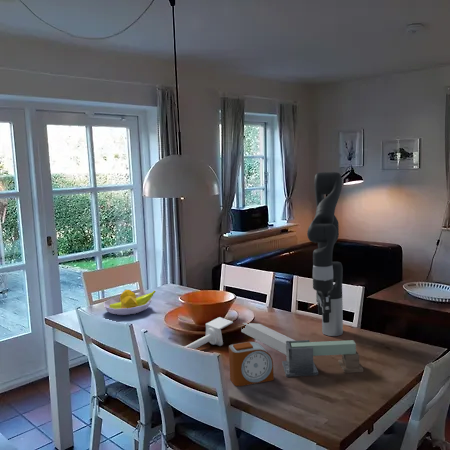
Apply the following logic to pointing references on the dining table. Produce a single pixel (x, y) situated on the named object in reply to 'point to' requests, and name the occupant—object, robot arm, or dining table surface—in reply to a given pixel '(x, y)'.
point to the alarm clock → (249, 364)
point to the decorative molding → (267, 336)
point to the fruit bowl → (128, 303)
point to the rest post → (350, 363)
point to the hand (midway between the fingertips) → (323, 318)
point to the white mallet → (212, 333)
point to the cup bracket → (299, 360)
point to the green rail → (329, 347)
